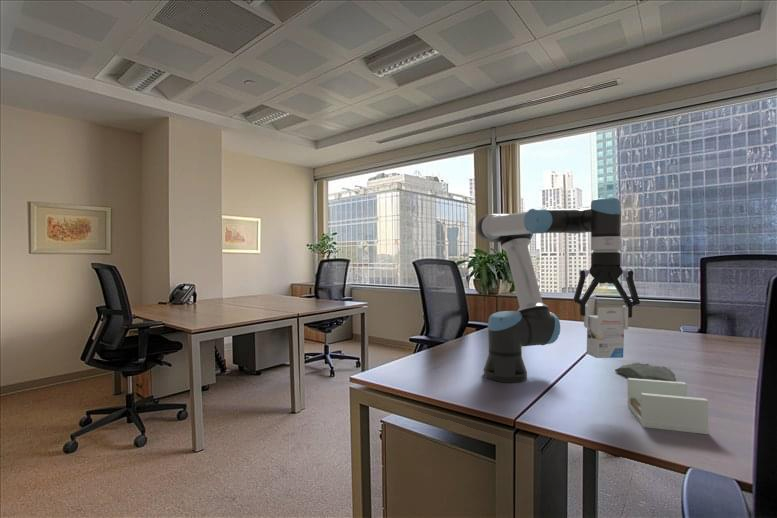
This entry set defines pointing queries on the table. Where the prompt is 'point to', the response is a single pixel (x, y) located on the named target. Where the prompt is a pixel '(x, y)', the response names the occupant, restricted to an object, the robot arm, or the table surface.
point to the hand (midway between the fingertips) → (605, 327)
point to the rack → (667, 406)
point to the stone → (646, 372)
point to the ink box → (606, 333)
